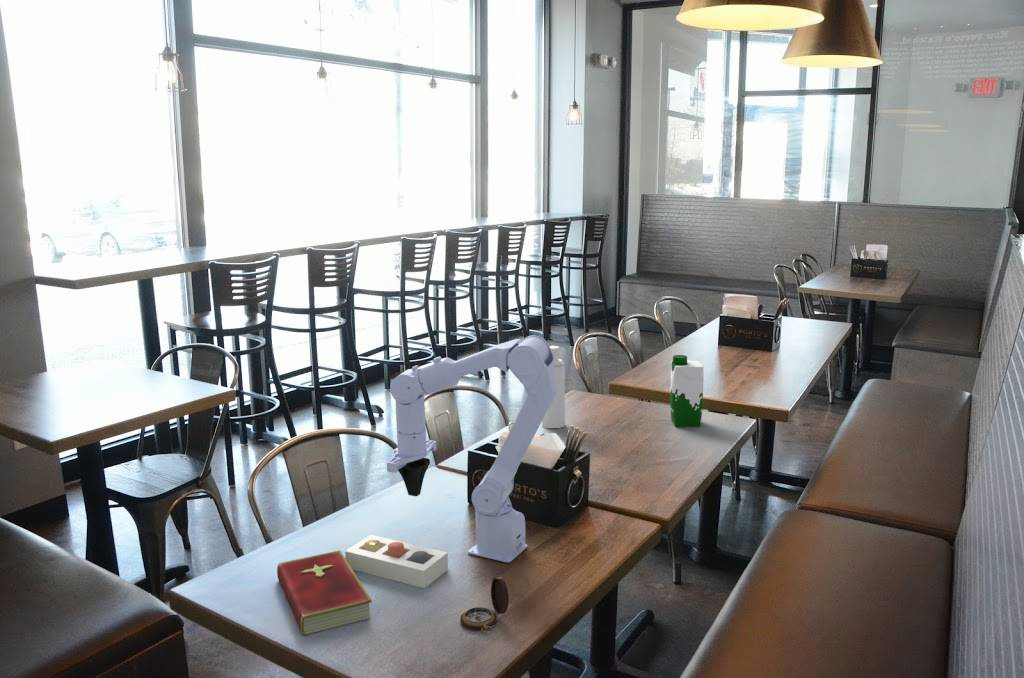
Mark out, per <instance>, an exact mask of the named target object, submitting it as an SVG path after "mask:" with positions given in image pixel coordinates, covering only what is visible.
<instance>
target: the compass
mask: <svg viewBox="0 0 1024 678" xmlns="http://www.w3.org/2000/svg"><path fill="white" fill-rule="evenodd" d="M509 597H510V595H509V589H508V585H507V582H506V580H505V579H504V577H502V576H500V575H499V576H494V577H493V578H492V580H491V585H490V599H491V604H492V608H493V610H491V609H490V608H487V607H484V606H476V607H471V608H469V609H467V610H465V611H464V612H463V613H461V615H460V618H459V619H460V620H459V621H460V625H461V626H463V628H465V629H468V630H470V631H475V632H478V631H479V632H480V631H481V632H483V633H485V634H486V633H487V634H488V633H491V632H492V631H493V629H494V628H493V627H494V626H495V625H496V624H497V622H498V621H497V620H498V616H499V615H505V614H506V613H507V610H508V609H509V608H508V607H509V602H510V599H509ZM489 629H491V630H489ZM485 630H489V631H485Z"/></svg>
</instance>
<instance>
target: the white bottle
mask: <svg viewBox="0 0 1024 678" xmlns="http://www.w3.org/2000/svg"><path fill="white" fill-rule="evenodd" d="M549 346H550V348H551V350H552V352H553V354H554V371H555V381H556V394H555V397H554V399H553V401H552V403H551V404H550V406H549V408H548V410H547V412H546V414H545V416H544V418H543V420H542V422H541V426H542V427H543V426H544V427H546V428H545V429H547V428H559V427H563V426H564V425H565V426H566V377H565V375H566V371H565V369H566V368H565V361H563V359H561V358H559V355H560V346H557V345H549ZM565 426H564V427H565ZM544 427H543V428H544ZM564 427H563V428H564Z"/></svg>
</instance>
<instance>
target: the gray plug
mask: <svg viewBox="0 0 1024 678" xmlns="http://www.w3.org/2000/svg"><path fill="white" fill-rule="evenodd" d="M427 561H428V553H427V552H425V551H417V552H414V553H413V554H412V562H415V563H420V564H424V563H426V562H427Z"/></svg>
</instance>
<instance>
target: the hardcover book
mask: <svg viewBox="0 0 1024 678" xmlns="http://www.w3.org/2000/svg"><path fill="white" fill-rule="evenodd" d="M354 571H355V570H352V568H351V567H350V565H349V563H348V562H347V560H346V556H344V554H343V552H342V551H341V550H335V551H329V552H326V553H319V554H315V555H311V556H306V557H302V558H297V559H292V560H288V561H287V560H286V561H283V562H279V563H277V567H276V572H277V573H276V574H277V575H276V576H277V579H278V582H279V584H280V587H281V589H282V591H283V594H284V596H285V599H286V601H287V602H288V605H289V607H290V609H291V612H292V614H293V618H294V619H295V622H296V624H297V626H298V628H299V630H300V633H301V635H302V637H306V635H308V634H309V635H310V634H312V633H316V632H317V633H318V632H321V631H324V630H328V629H332V628H337V627H340V626H345V625H348V624H352V623H356V622H361V621H364V620H368V619H370V603H372V599H371V597H370V595H369V594H368V592H367V590H366V589H365V587H364V586H363V584H362V583H361V581H360V579H359V578H358V577H357V575H356V573H355V572H354Z"/></svg>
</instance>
